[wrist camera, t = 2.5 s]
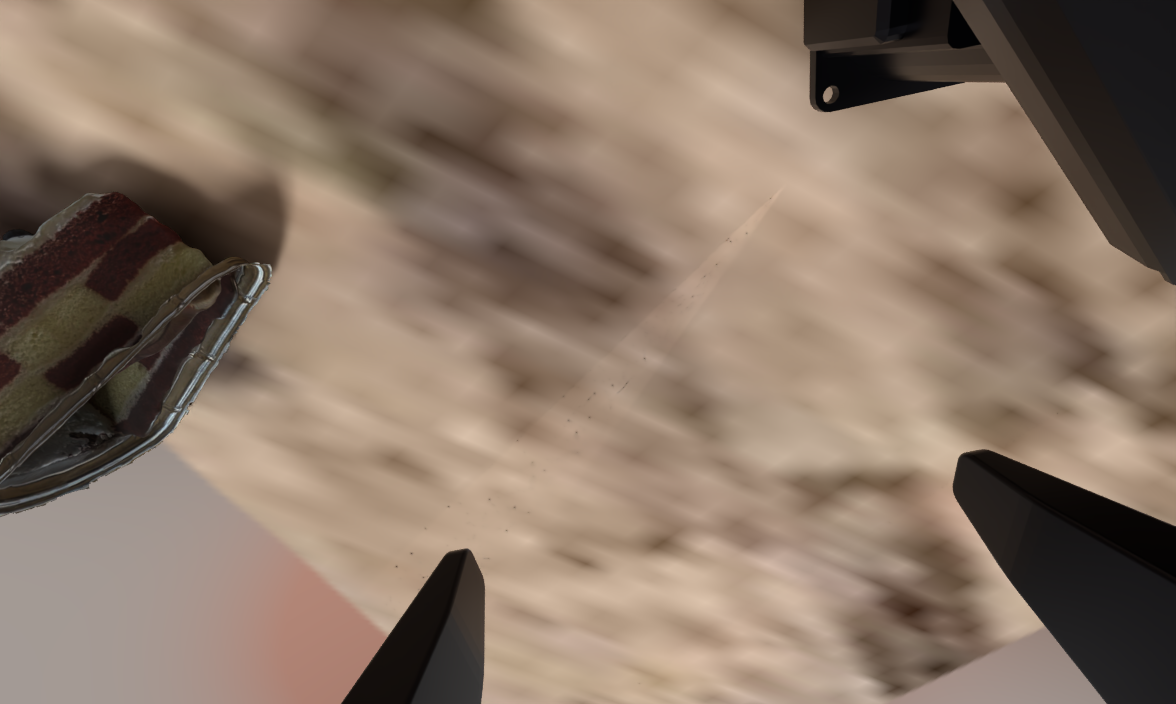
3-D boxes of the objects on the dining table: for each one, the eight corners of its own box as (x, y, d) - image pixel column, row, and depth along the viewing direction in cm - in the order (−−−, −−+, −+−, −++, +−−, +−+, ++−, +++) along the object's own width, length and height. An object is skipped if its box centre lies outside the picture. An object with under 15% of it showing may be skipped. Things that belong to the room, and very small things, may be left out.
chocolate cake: (89, 92, 16) (-458, 354, 11) (265, 250, 17) (-170, 559, 12) (191, 227, 25) (-92, 409, 20) (305, 328, 26) (61, 526, 21)
